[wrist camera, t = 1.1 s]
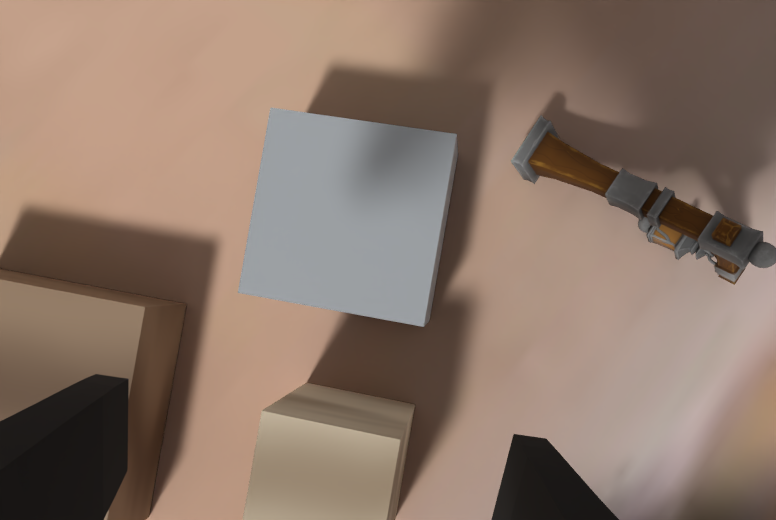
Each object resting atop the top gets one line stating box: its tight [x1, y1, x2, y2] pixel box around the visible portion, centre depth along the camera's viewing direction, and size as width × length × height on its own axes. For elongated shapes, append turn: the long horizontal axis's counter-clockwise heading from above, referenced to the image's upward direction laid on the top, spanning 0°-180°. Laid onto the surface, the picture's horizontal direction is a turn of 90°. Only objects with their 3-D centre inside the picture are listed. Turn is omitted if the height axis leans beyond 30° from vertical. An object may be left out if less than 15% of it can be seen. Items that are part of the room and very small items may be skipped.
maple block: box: [243, 383, 415, 520], centre depth 20 cm, size 4×4×5 cm
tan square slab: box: [0, 269, 187, 520], centre depth 22 cm, size 8×8×3 cm
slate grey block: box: [238, 108, 458, 327], centre depth 21 cm, size 6×6×3 cm
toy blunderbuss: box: [511, 115, 776, 284], centre depth 20 cm, size 2×8×4 cm, turn 57°
